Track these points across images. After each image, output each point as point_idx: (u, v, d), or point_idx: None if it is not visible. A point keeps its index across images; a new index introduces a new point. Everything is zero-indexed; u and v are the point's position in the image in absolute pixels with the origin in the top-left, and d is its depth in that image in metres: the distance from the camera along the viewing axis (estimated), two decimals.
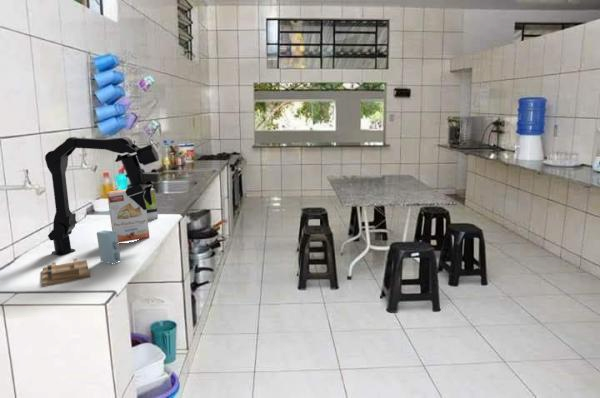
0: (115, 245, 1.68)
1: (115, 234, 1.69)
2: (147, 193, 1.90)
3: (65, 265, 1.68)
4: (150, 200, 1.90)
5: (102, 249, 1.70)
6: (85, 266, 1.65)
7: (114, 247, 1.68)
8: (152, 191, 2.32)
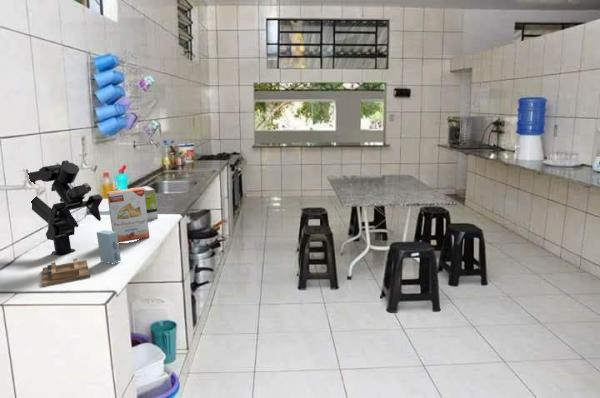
0: (115, 245, 1.68)
1: (115, 234, 1.69)
2: (94, 210, 1.79)
3: (65, 265, 1.68)
4: (97, 216, 1.78)
5: (102, 249, 1.70)
6: (85, 266, 1.65)
7: (114, 247, 1.68)
8: (152, 191, 2.32)
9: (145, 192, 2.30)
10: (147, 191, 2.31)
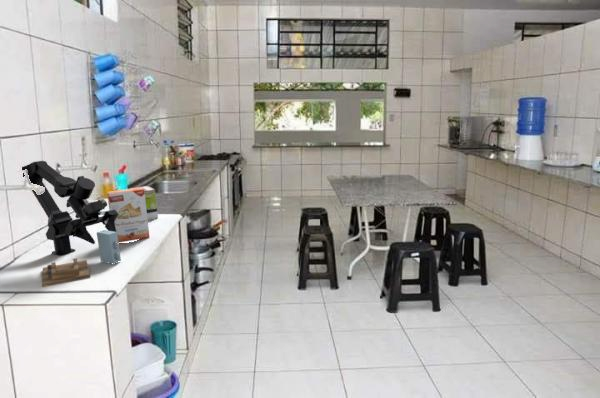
0: (115, 245, 1.68)
1: (115, 234, 1.69)
2: (110, 226, 1.76)
3: (65, 265, 1.68)
4: None
5: (102, 249, 1.70)
6: (85, 266, 1.65)
7: (114, 247, 1.68)
8: (152, 191, 2.32)
9: (145, 192, 2.30)
10: (147, 191, 2.31)
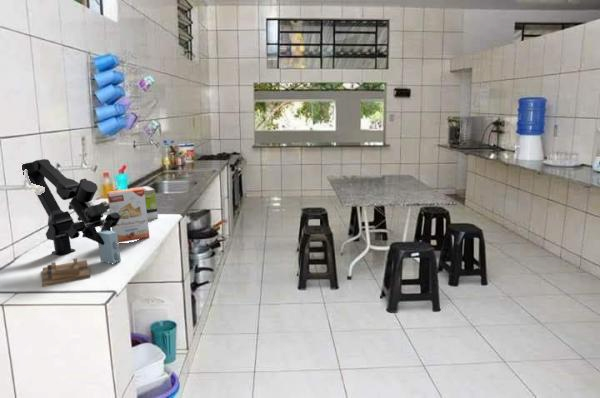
0: (115, 245, 1.68)
1: (115, 234, 1.69)
2: None
3: (65, 265, 1.68)
4: None
5: (102, 249, 1.70)
6: (85, 266, 1.65)
7: (114, 247, 1.68)
8: (152, 191, 2.32)
9: (145, 192, 2.30)
10: (147, 191, 2.31)
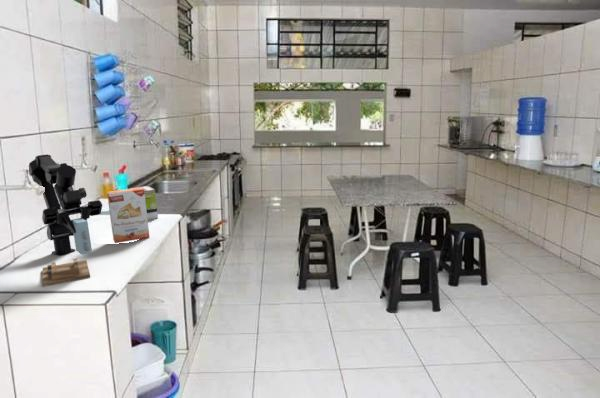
0: (83, 235, 1.59)
1: (85, 223, 1.60)
2: None
3: (65, 265, 1.68)
4: None
5: (75, 238, 1.63)
6: (85, 266, 1.65)
7: (83, 237, 1.60)
8: (152, 191, 2.32)
9: (145, 192, 2.30)
10: (147, 191, 2.31)
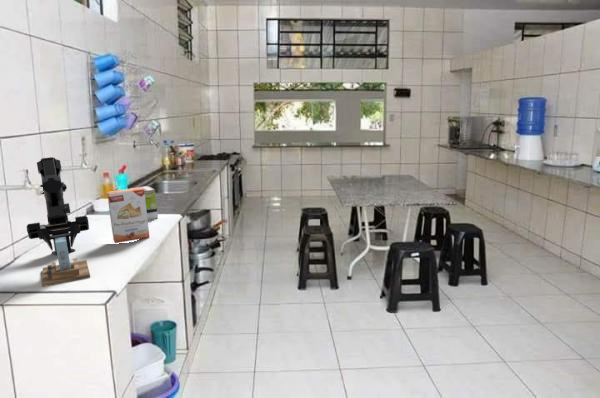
0: (61, 255, 1.56)
1: (64, 243, 1.57)
2: (70, 234, 1.64)
3: None
4: (70, 241, 1.62)
5: None
6: (85, 266, 1.65)
7: (61, 257, 1.57)
8: (152, 191, 2.32)
9: (145, 192, 2.30)
10: (147, 191, 2.31)
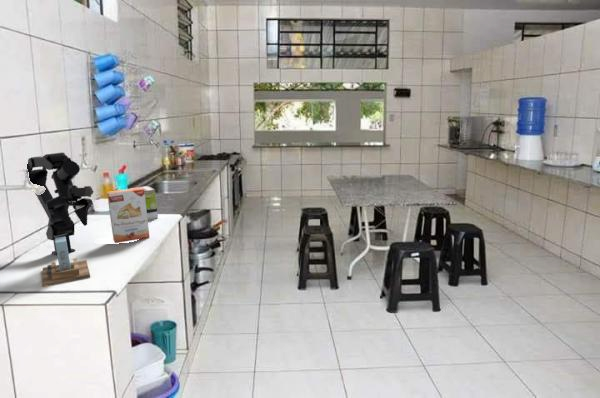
0: (61, 255, 1.56)
1: (64, 243, 1.57)
2: (82, 213, 1.78)
3: None
4: (84, 220, 1.77)
5: None
6: (85, 266, 1.65)
7: (61, 257, 1.57)
8: (152, 191, 2.32)
9: (145, 192, 2.30)
10: (147, 191, 2.31)
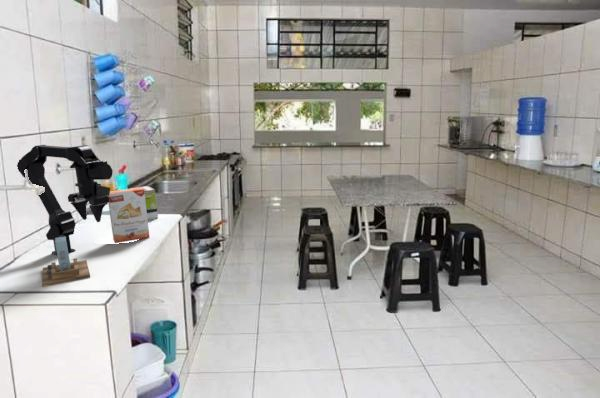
0: (61, 255, 1.56)
1: (64, 243, 1.57)
2: (83, 207, 1.82)
3: None
4: (85, 215, 1.82)
5: None
6: (85, 266, 1.65)
7: (61, 257, 1.57)
8: (152, 191, 2.32)
9: (145, 192, 2.30)
10: (147, 191, 2.31)
